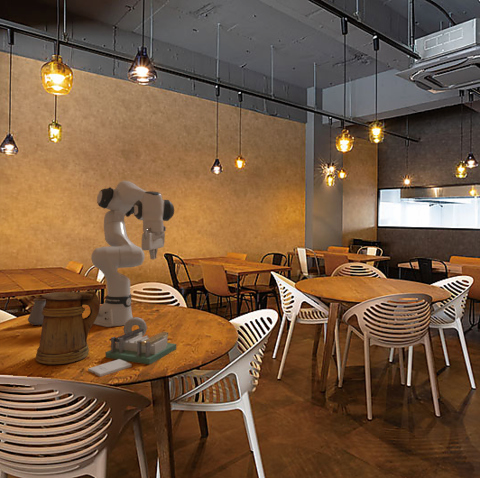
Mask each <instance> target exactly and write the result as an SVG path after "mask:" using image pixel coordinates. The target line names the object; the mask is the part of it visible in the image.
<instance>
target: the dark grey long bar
mask: <svg viewBox="0 0 480 478" xmlns="http://www.w3.org/2000/svg"><path fill="white" fill-rule="evenodd" d="M140 332H142V334H143V333H144V329H139V328H137V329H134V330H132V331H131V332H129V333H127V334H122V335H120V336H118V337H115V338H114V341H115V342H119V339H120V338H124V339H126V338H129V337H131V336H133V335H135V334H138V333H140Z"/></svg>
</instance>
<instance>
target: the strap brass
mask: <svg viewBox="0 0 480 478" xmlns="http://www.w3.org/2000/svg"><path fill="white" fill-rule="evenodd" d="M165 335H167V338H168V337H169V332H168V331H161V332H159V333H157V334H154V335H152V336H151V337H148V338H149V339H146V340H144V341H141V342H140V345H143V346H146V342H148V341H149V342H150V343H151V342H153V341H155V340H157V339H159V338H161V337H163V336H165Z"/></svg>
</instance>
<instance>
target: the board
mask: <svg viewBox="0 0 480 478" xmlns="http://www.w3.org/2000/svg"><path fill="white" fill-rule="evenodd" d="M114 338H116V336H112V337H110V350H108V351H105V358H106V359H107V358H108V359H113V360H118V359H121V360H123V361H126V362H131V363H139V364H144V365H152V364H153V363H155V362H157V361H158V360H160V359H161V358H163V357H165V356H167V355H168V354H170V353H172V352H174V351H176V350H177V344H176V343H173V342H172V343H171V342H168V337H167V335H165V336H163V337H161V338H159V339H157V340H155V341H153V342H151V343H150V342H149V341H148V342H146V346H143V345H140V342H141V341H144V340H146V339H149V338H150V337H149V335H144V336H143V337H142V332H140V333H138V334H135V335H133V336H131V337H129V338H126V339H124V338H120V339H119V342H115V341H114Z"/></svg>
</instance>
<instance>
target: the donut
mask: <svg viewBox="0 0 480 478" xmlns="http://www.w3.org/2000/svg"><path fill="white" fill-rule="evenodd" d="M134 326H138V329H144V333H143V334H142V337H145V336H146V332H147V329H148V327H147V322H145V320H144V319H143V318H140V317H138V316H137V317H136V316H135V317H133V318H131V319H129V320H128V321H127V322H126V323H125V325H123V333H124V334H127V333H129V332H131V331H133V330H132V328H133V327H134ZM124 334H123V335H124Z"/></svg>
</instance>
